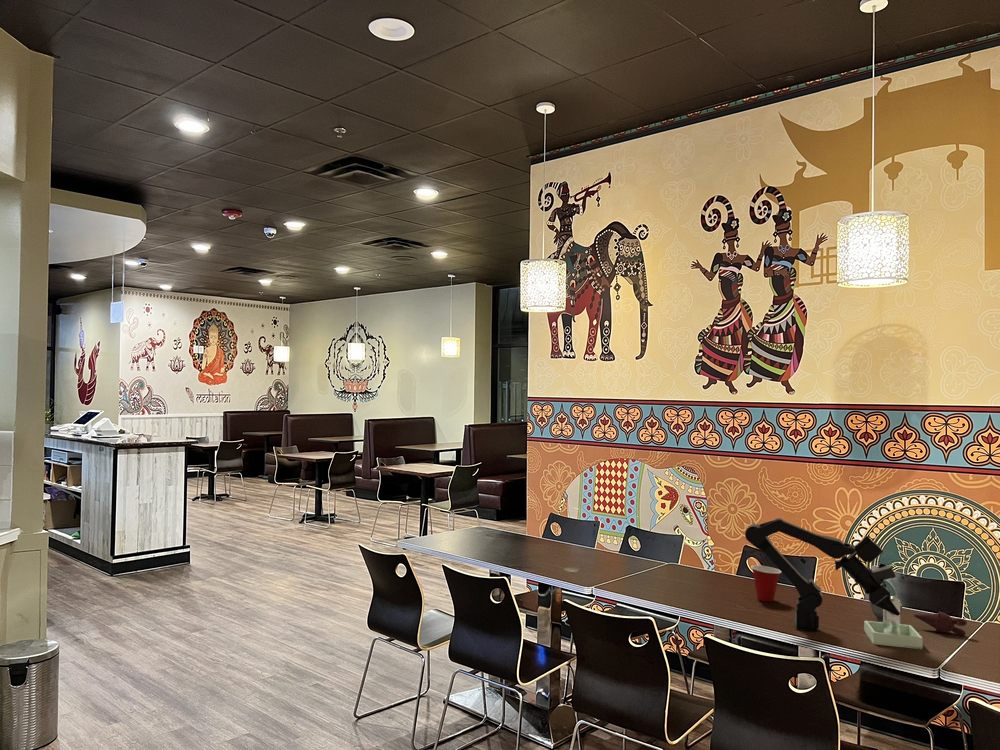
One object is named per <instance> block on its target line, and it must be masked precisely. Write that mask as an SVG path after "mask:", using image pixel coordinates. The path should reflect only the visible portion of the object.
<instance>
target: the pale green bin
mask: <svg viewBox="0 0 1000 750" xmlns="http://www.w3.org/2000/svg"><path fill="white" fill-rule="evenodd" d="M863 631H864V633H865V634H866V636H867V637H868V639H869V641H870V642H871V643H872V645H876V646H877V645H880V646H885V647H886V646H889V647H895V648H907V649H914V650H915V649H917V650H923V640H924V639H923V636H922V635H921V634H919V632H917V630H916V629H915V628H914V627H913V626H912V625H910V624H901V623H900V631H901V635H898V634H888V633H883V622H877V621H872V620H871V621H870V620H864V627H863Z"/></svg>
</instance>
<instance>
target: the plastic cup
mask: <svg viewBox="0 0 1000 750" xmlns="http://www.w3.org/2000/svg"><path fill="white" fill-rule="evenodd" d="M751 569H752V573H753V579H754V586H755V592H756V598H757V600H758V601H760V600H761V602H766V603H767V602H768V603H769V602H771V601H772V602H774V599H775V596H776V595H775V594H776V591H777V588H778V587H777V586H778V581H779V577H780V576H781V574H782V572H781V571H780V569H779V568H775V567H772V566H771V567H770V566H766V565H760V564H759V565H757V564H756V565H751Z"/></svg>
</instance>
